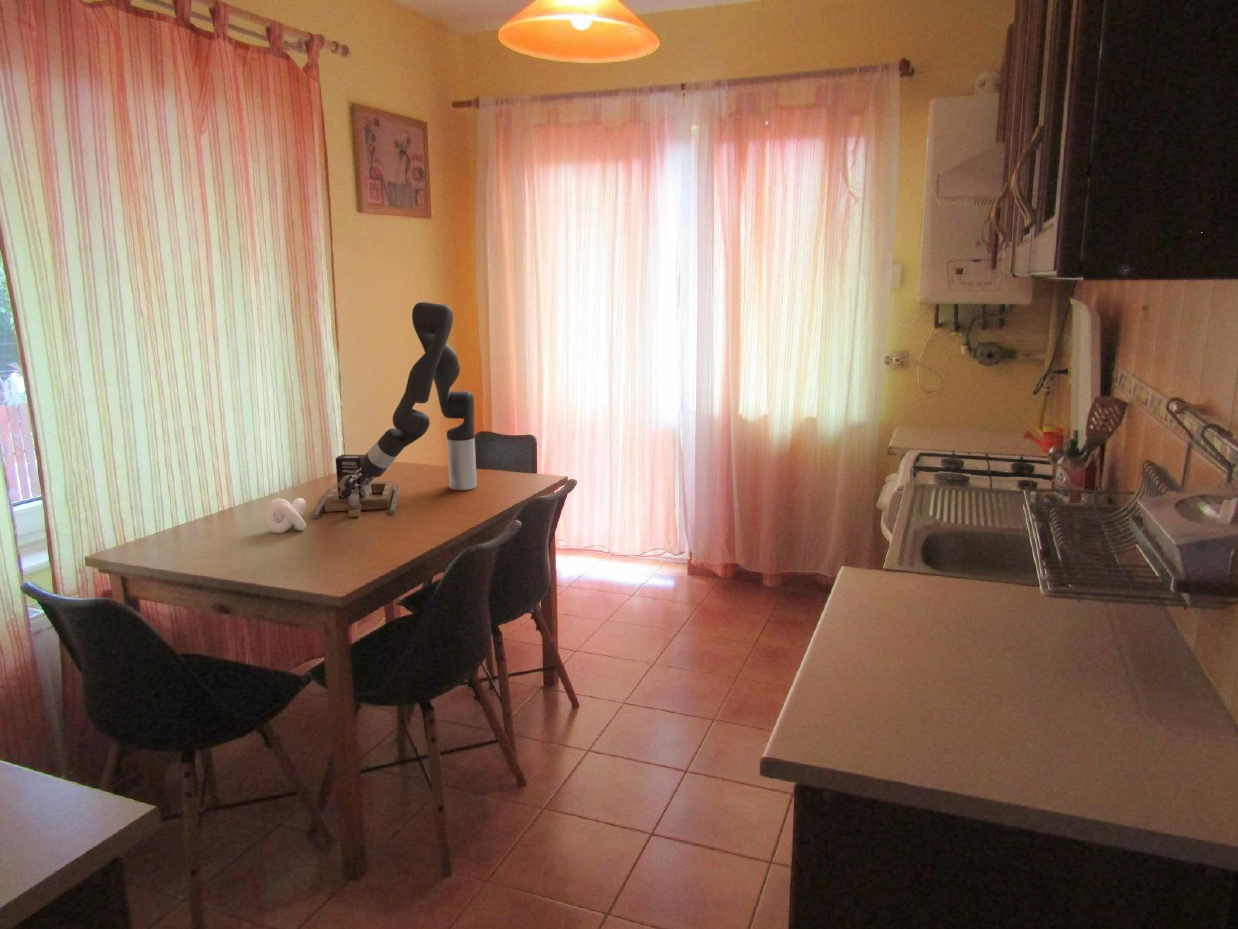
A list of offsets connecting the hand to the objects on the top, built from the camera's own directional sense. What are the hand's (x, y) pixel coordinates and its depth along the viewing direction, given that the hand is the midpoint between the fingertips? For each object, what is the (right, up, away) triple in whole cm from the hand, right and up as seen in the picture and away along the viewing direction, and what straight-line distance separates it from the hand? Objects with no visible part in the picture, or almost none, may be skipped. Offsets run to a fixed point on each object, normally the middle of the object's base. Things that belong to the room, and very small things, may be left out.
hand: (347, 494), depth 262 cm
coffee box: (-1, -4, +13) cm, 13 cm away
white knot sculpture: (-14, -10, -13) cm, 21 cm away
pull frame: (-1, -3, +14) cm, 14 cm away
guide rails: (-1, -3, +15) cm, 15 cm away
